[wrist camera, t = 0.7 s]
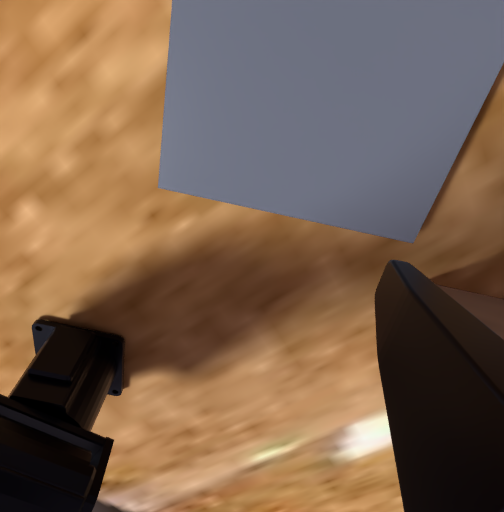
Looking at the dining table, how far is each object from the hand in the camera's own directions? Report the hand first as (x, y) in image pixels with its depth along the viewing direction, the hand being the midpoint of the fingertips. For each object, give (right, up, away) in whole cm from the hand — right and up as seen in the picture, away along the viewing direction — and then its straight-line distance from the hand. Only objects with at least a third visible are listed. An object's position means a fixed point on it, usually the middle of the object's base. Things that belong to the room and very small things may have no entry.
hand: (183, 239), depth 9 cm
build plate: (+5, +8, +10) cm, 14 cm away
